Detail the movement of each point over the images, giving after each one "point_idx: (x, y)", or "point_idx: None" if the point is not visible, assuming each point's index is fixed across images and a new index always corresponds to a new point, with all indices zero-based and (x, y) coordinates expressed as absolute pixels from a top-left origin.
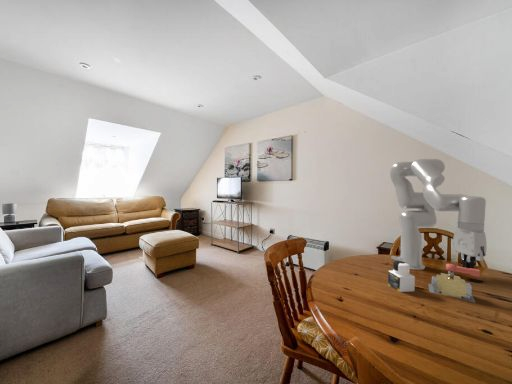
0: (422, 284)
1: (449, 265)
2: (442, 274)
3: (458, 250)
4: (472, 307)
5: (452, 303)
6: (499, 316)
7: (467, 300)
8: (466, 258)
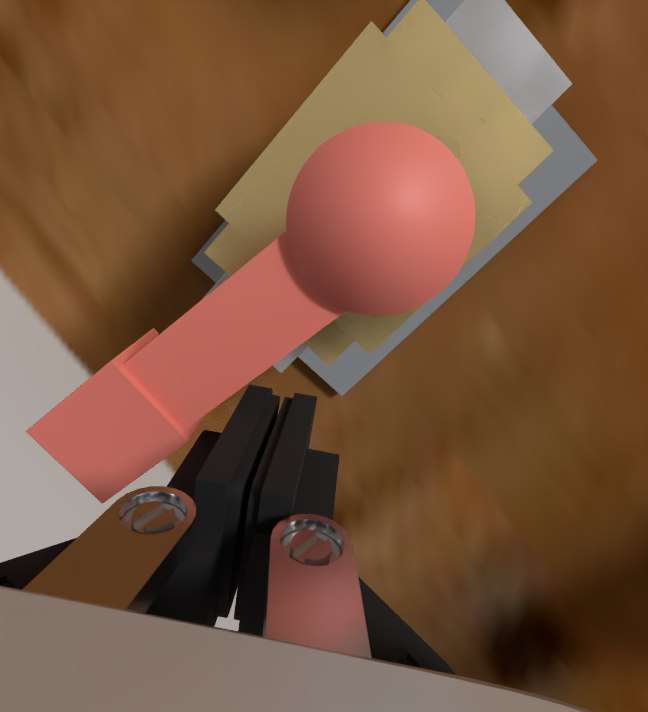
0: (624, 100)
1: (358, 147)
2: (476, 168)
3: (351, 700)
4: (147, 169)
5: (217, 37)
6: (27, 248)
7: (227, 223)
8: (256, 594)
